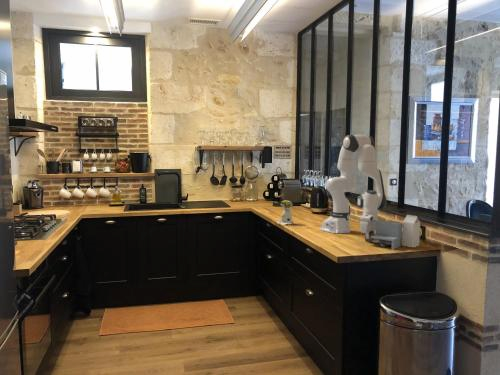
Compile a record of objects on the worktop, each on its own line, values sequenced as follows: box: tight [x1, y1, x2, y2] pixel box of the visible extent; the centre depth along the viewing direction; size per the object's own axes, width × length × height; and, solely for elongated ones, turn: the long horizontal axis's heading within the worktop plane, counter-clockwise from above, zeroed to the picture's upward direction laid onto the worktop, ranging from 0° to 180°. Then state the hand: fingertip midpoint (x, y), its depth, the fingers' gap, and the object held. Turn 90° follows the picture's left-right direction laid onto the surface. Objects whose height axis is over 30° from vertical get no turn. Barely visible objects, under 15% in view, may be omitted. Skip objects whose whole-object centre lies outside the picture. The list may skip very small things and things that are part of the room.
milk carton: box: [401, 214, 421, 249], centre depth 244 cm, size 7×7×19 cm
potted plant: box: [277, 199, 294, 226], centre depth 314 cm, size 12×13×18 cm
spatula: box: [364, 231, 392, 247], centre depth 252 cm, size 17×4×6 cm, turn 50°
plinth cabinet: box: [371, 219, 403, 250], centre depth 245 cm, size 14×13×14 cm
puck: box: [379, 243, 388, 248], centre depth 245 cm, size 4×4×2 cm
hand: (369, 237), depth 256 cm, fingers closed on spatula, 4 cm apart
